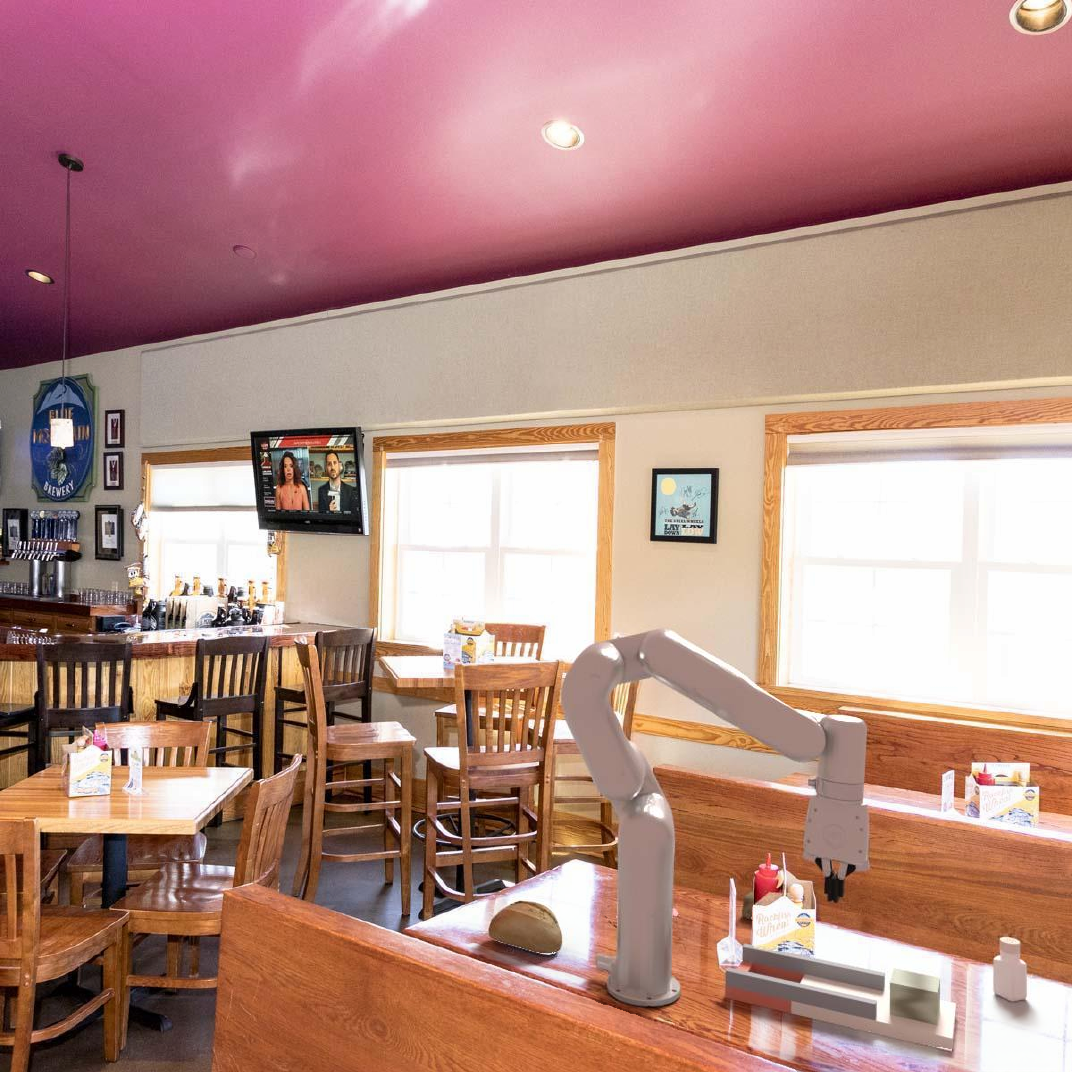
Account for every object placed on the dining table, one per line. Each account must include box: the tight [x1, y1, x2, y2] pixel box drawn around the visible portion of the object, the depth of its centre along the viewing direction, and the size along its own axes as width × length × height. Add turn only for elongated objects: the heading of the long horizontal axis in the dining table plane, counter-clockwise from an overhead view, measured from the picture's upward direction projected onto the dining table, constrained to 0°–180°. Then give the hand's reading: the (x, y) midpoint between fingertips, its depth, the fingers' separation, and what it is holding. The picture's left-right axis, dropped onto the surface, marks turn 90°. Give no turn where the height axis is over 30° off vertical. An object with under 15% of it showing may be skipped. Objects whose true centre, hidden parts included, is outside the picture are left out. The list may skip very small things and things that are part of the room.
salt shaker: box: [992, 936, 1028, 1002], centre depth 156 cm, size 4×4×10 cm
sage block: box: [889, 967, 941, 1025], centre depth 145 cm, size 7×6×5 cm
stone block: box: [741, 891, 754, 921], centre depth 188 cm, size 6×12×5 cm, turn 54°
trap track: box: [724, 943, 957, 1050], centre depth 150 cm, size 35×13×4 cm, turn 63°
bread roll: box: [488, 900, 563, 953], centre depth 172 cm, size 10×15×8 cm, turn 66°
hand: (833, 899), depth 151 cm, fingers closed
